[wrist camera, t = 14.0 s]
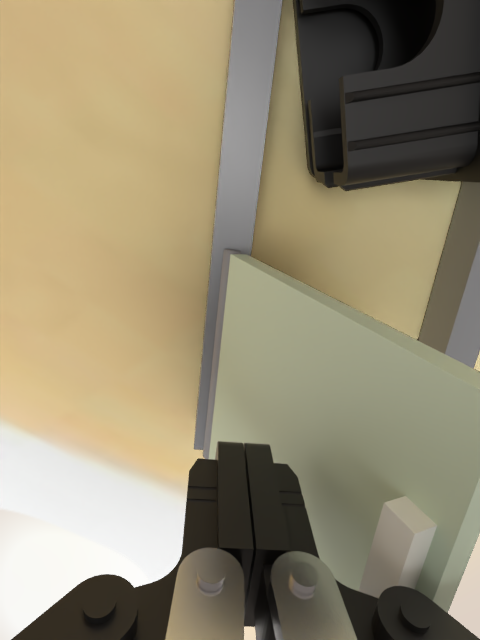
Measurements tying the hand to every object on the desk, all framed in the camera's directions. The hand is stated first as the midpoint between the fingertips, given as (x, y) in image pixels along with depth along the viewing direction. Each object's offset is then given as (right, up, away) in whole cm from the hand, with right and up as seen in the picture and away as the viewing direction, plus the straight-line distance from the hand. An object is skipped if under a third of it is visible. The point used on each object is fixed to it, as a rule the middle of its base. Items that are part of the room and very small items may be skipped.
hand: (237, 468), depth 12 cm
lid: (+2, 0, +2) cm, 3 cm away
